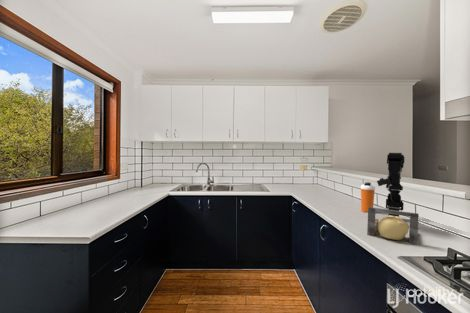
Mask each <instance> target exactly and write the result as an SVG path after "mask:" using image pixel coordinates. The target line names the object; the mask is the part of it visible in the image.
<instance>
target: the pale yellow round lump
mask: <svg viewBox="0 0 470 313" xmlns="http://www.w3.org/2000/svg"><path fill="white" fill-rule="evenodd" d="M409 226H410V224H408V223H407V222H405V220H403V219H402V218H401V217H400V216H399V217H397V216H391V215H389V216H388V215H387V216H384V217H382V218H380V219H379V222H378V228H377V231H378V232H379V234H380V236H381V237H382V238H386V239H388V240H396V241H402V240H403V239H404V238H405V237H406V235H407V234H408V233H409Z"/></svg>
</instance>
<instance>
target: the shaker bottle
mask: <svg viewBox="0 0 470 313" xmlns="http://www.w3.org/2000/svg"><path fill="white" fill-rule="evenodd" d="M375 190H376V186H375V185H373V184H372V182H369V181H367V182H364V183H363V184H361V185H360V207H361V209H360V211H361V212H362V213H366V214H368V207H373V208H374V202H375Z"/></svg>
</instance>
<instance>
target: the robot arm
mask: <svg viewBox="0 0 470 313" xmlns="http://www.w3.org/2000/svg"><path fill="white" fill-rule="evenodd" d="M386 156H387V157H386V164H388V165H387V166H388V167H387V170H388V175H387V178H383V177H381V178H379V180H378V179H377V180H376V183H377V186H378V187H381V186H385V189H387V191H388V192H389V193H388V194H387V198H386V199H385V209H388V210H395V211H404V202H403V199H402V196H401V194H400V192H401V191H403V190H404V186H403V185H401V179H402V177H401V174H402V172H403V169H404V164H405V155H404V154H402V152H388V154H387V155H386ZM389 215H391V216H397V217H400V215H395V214H388V213H387V216H389Z"/></svg>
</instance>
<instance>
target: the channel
mask: <svg viewBox="0 0 470 313" xmlns="http://www.w3.org/2000/svg"><path fill="white" fill-rule="evenodd" d="M376 213H383V214H387V215H388V214H395V215H399V216H403V217H409V228H408V233H409V234H408V235H409V237H408V238H409V239H408V242H409V243H410V244H413V245H418V239H419V238H418V236H419V213H417V212H410V211H404V210H402V211H401V210H399V211H395V210H388V209H386V208H380V207H379V208H378V207H374V206H373V207H368V213H367V230H366V231H367V232H366V233H367V234H366V235H367V236H371V237H374V236H375V235H376V233H377V231H378V223H379V221H380V219H378V218H376Z"/></svg>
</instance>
